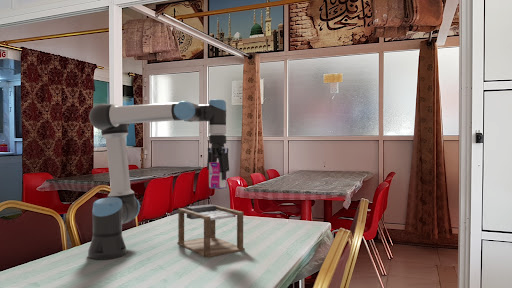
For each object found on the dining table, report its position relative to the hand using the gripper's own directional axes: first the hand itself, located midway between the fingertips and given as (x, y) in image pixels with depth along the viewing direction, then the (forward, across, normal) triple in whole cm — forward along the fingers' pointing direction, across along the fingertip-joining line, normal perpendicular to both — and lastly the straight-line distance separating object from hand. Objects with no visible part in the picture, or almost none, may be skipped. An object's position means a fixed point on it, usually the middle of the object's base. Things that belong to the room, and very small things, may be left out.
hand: (217, 186), depth 174 cm
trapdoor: (+16, +7, 0) cm, 17 cm away
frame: (+28, +7, 0) cm, 29 cm away
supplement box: (+1, 0, 0) cm, 1 cm away
